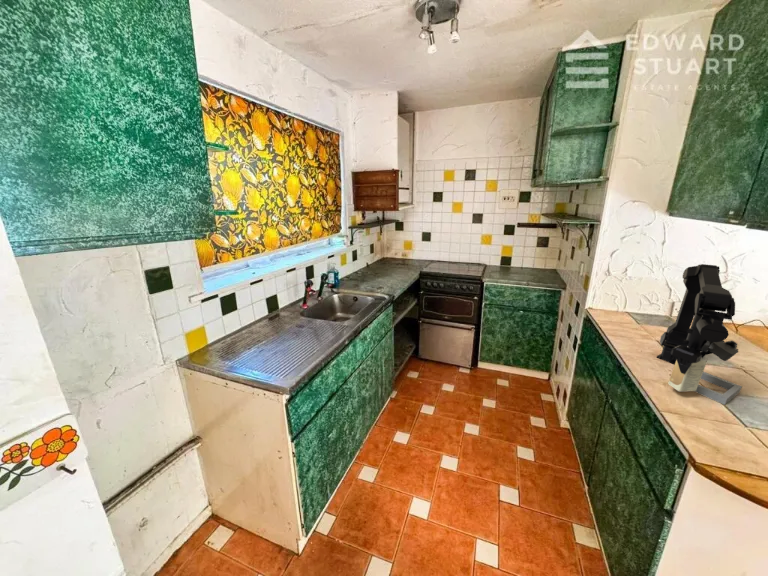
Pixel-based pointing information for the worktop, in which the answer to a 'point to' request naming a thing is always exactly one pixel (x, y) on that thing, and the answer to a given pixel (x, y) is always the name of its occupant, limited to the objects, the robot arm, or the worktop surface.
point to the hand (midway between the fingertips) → (688, 369)
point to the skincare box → (687, 376)
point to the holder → (731, 387)
